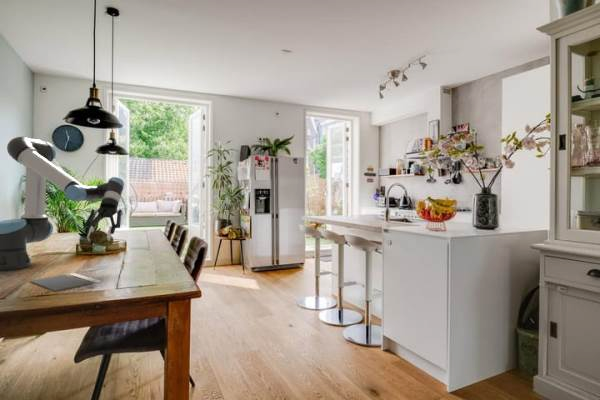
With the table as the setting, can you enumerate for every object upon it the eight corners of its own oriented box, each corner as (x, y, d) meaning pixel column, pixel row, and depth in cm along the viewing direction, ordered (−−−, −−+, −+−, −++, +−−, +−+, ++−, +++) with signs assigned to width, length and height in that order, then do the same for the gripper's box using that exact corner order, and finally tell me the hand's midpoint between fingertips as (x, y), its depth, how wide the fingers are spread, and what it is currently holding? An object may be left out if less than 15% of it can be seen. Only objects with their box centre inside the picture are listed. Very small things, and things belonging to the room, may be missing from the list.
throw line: (68, 274, 156) (68, 274, 156) (74, 273, 158) (74, 273, 158) (96, 283, 143) (96, 282, 143) (102, 281, 145) (102, 281, 145)
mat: (29, 281, 144) (29, 280, 144) (64, 275, 155) (64, 274, 155) (55, 291, 131) (55, 290, 131) (91, 284, 141) (91, 282, 141)
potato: (121, 245, 166) (121, 228, 165) (96, 249, 154) (96, 231, 153) (108, 243, 169) (108, 227, 168) (83, 247, 157) (83, 230, 157)
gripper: (133, 207, 178) (124, 243, 162) (90, 207, 173) (76, 244, 158) (130, 197, 172) (120, 233, 157) (85, 196, 168) (71, 234, 153)
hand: (98, 238), depth 157 cm, fingers closed on potato, 7 cm apart
